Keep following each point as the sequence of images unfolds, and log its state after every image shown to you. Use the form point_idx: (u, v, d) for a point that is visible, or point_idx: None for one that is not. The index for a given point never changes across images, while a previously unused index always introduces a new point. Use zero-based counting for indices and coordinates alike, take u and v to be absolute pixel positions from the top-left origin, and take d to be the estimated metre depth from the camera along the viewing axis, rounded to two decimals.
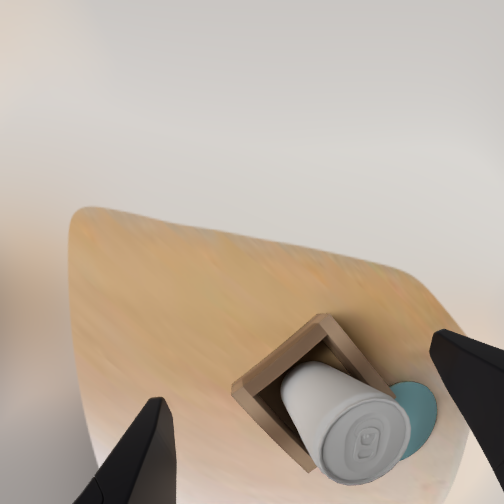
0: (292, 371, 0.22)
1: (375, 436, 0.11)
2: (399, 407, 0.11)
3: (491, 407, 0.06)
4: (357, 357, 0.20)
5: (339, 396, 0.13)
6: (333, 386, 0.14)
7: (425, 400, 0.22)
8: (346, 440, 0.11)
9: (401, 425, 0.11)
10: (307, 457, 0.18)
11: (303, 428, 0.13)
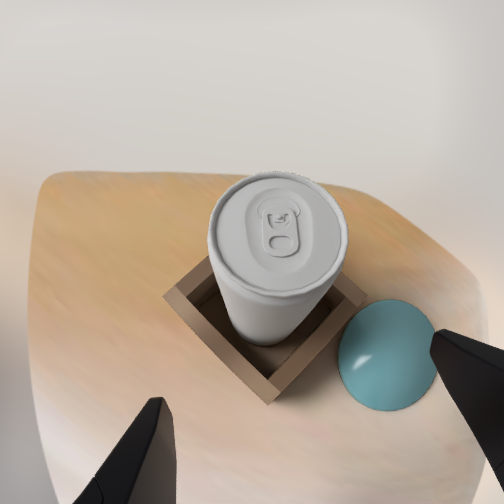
0: None
1: (289, 219, 0.10)
2: (314, 183, 0.11)
3: (491, 407, 0.06)
4: None
5: None
6: None
7: (417, 322, 0.20)
8: (246, 220, 0.10)
9: (328, 210, 0.10)
10: (262, 379, 0.16)
11: None
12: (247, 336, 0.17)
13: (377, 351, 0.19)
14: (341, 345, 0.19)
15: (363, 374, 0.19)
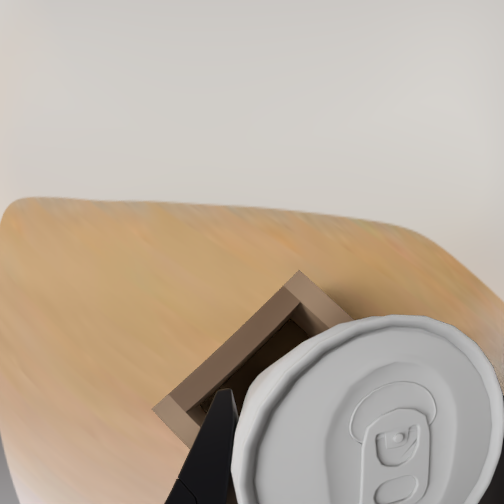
0: None
1: (417, 436, 0.03)
2: (465, 339, 0.04)
3: None
4: None
5: None
6: None
7: None
8: (326, 456, 0.03)
9: (480, 393, 0.04)
10: None
11: None
12: None
13: None
14: None
15: None
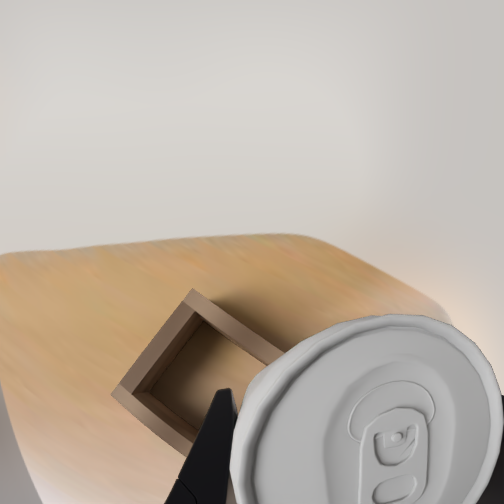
0: None
1: (416, 435, 0.03)
2: (463, 338, 0.04)
3: None
4: (238, 330, 0.18)
5: None
6: None
7: None
8: (325, 455, 0.03)
9: (478, 393, 0.04)
10: None
11: None
12: None
13: None
14: None
15: None
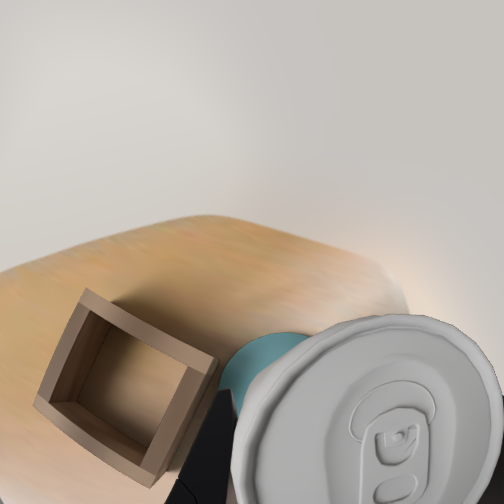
0: (257, 374, 0.14)
1: (417, 435, 0.03)
2: (464, 338, 0.04)
3: None
4: (131, 323, 0.16)
5: None
6: None
7: None
8: (326, 455, 0.03)
9: (479, 393, 0.04)
10: (135, 467, 0.13)
11: None
12: None
13: None
14: None
15: None
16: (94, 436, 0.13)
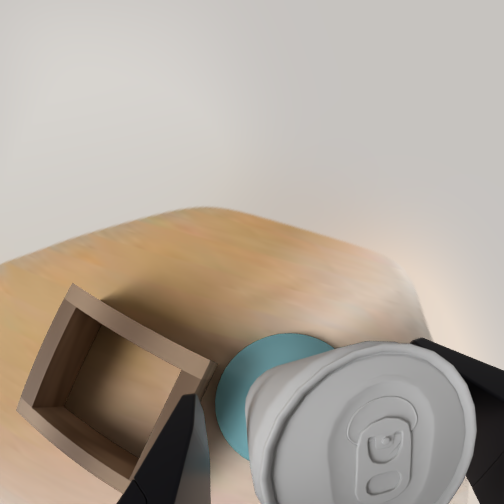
0: (257, 378, 0.15)
1: (401, 439, 0.04)
2: (443, 362, 0.05)
3: None
4: (120, 322, 0.14)
5: (306, 362, 0.06)
6: (301, 361, 0.08)
7: (312, 353, 0.17)
8: (329, 455, 0.04)
9: (455, 407, 0.05)
10: (123, 480, 0.11)
11: (248, 445, 0.07)
12: None
13: None
14: (216, 412, 0.15)
15: None
16: (80, 445, 0.12)
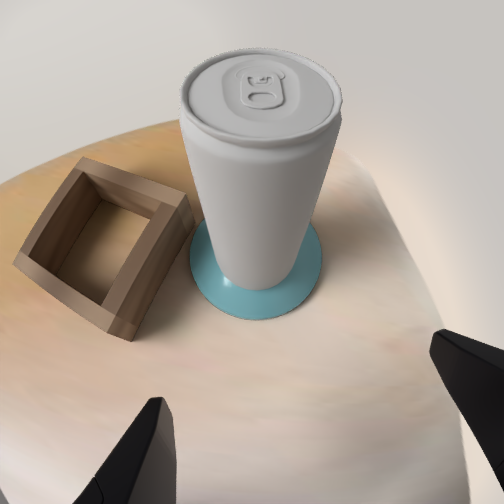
0: None
1: (273, 80, 0.08)
2: (300, 56, 0.08)
3: (491, 407, 0.06)
4: (117, 175, 0.17)
5: None
6: None
7: None
8: (223, 81, 0.08)
9: (317, 76, 0.08)
10: (96, 307, 0.14)
11: None
12: (234, 271, 0.15)
13: None
14: (190, 259, 0.19)
15: (224, 282, 0.18)
16: (63, 282, 0.15)
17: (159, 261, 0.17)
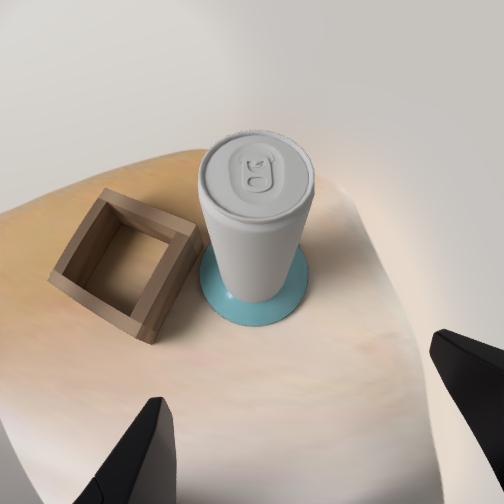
0: None
1: (265, 164, 0.12)
2: (286, 138, 0.13)
3: (491, 407, 0.06)
4: (137, 206, 0.22)
5: None
6: None
7: None
8: (229, 165, 0.12)
9: (297, 158, 0.12)
10: (125, 317, 0.18)
11: None
12: (236, 289, 0.19)
13: None
14: (200, 277, 0.23)
15: (228, 296, 0.22)
16: (95, 297, 0.19)
17: (175, 279, 0.21)
